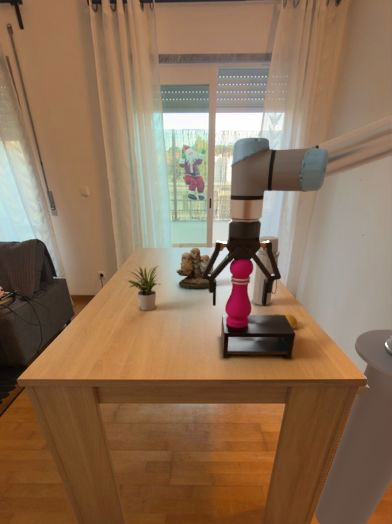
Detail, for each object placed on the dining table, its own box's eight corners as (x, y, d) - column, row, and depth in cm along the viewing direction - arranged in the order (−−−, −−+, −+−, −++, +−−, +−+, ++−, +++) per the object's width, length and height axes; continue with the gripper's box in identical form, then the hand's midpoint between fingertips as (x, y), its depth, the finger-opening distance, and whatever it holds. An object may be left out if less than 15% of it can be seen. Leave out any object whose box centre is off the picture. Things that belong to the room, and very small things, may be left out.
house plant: (145, 297, 120) (141, 258, 112) (173, 303, 115) (171, 262, 106) (123, 309, 110) (117, 267, 101) (152, 316, 104) (148, 272, 96)
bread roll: (300, 329, 95) (303, 318, 93) (276, 331, 93) (277, 321, 91) (288, 318, 102) (290, 308, 100) (265, 321, 100) (266, 310, 98)
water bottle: (248, 303, 114) (254, 238, 101) (258, 297, 120) (265, 235, 107) (269, 309, 109) (278, 241, 96) (278, 303, 115) (288, 237, 102)
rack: (280, 338, 90) (284, 314, 86) (290, 358, 79) (295, 333, 75) (221, 337, 90) (222, 314, 86) (223, 358, 80) (224, 333, 76)
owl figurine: (177, 290, 128) (175, 251, 119) (176, 282, 138) (175, 245, 130) (216, 288, 130) (217, 250, 121) (213, 280, 140) (213, 244, 131)
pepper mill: (255, 323, 81) (263, 251, 70) (238, 331, 76) (244, 256, 66) (236, 315, 85) (241, 246, 75) (219, 322, 81) (222, 250, 71)
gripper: (294, 217, 70) (281, 299, 81) (193, 218, 70) (194, 298, 81) (303, 221, 63) (287, 309, 74) (191, 222, 64) (193, 309, 75)
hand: (238, 304), depth 78 cm, fingers open, 13 cm apart
